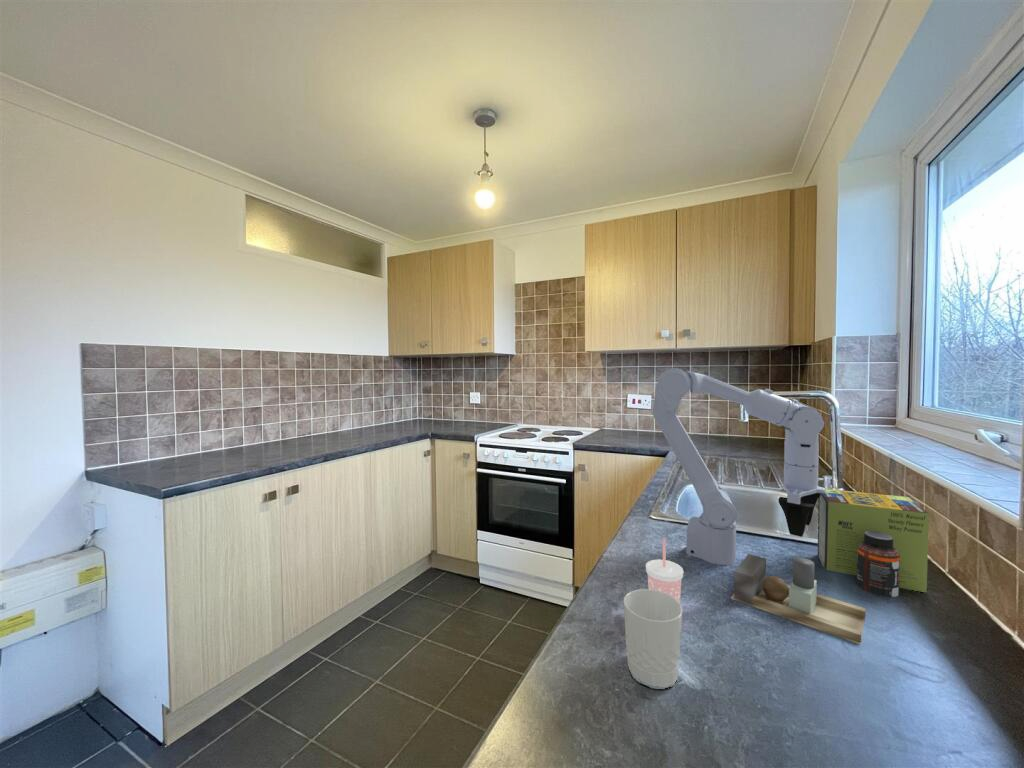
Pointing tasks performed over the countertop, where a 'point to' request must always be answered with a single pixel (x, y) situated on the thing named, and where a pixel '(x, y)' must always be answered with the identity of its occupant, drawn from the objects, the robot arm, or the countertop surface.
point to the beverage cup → (665, 575)
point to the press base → (825, 615)
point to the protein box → (862, 512)
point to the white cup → (653, 636)
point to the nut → (775, 589)
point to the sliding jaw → (803, 586)
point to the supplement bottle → (878, 565)
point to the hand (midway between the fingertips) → (799, 529)
